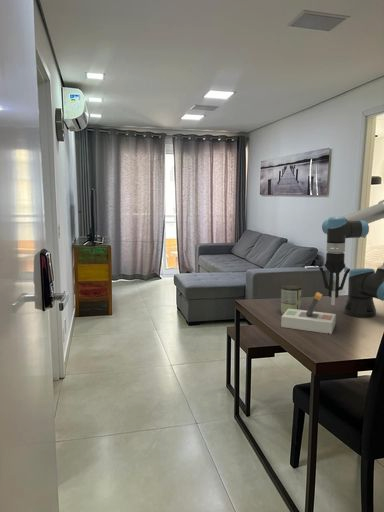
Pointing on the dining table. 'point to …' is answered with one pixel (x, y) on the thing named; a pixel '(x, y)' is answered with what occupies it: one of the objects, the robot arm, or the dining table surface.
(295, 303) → the coffee can
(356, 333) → the dining table surface
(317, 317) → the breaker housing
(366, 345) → the dining table surface
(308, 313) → the breaker lever
